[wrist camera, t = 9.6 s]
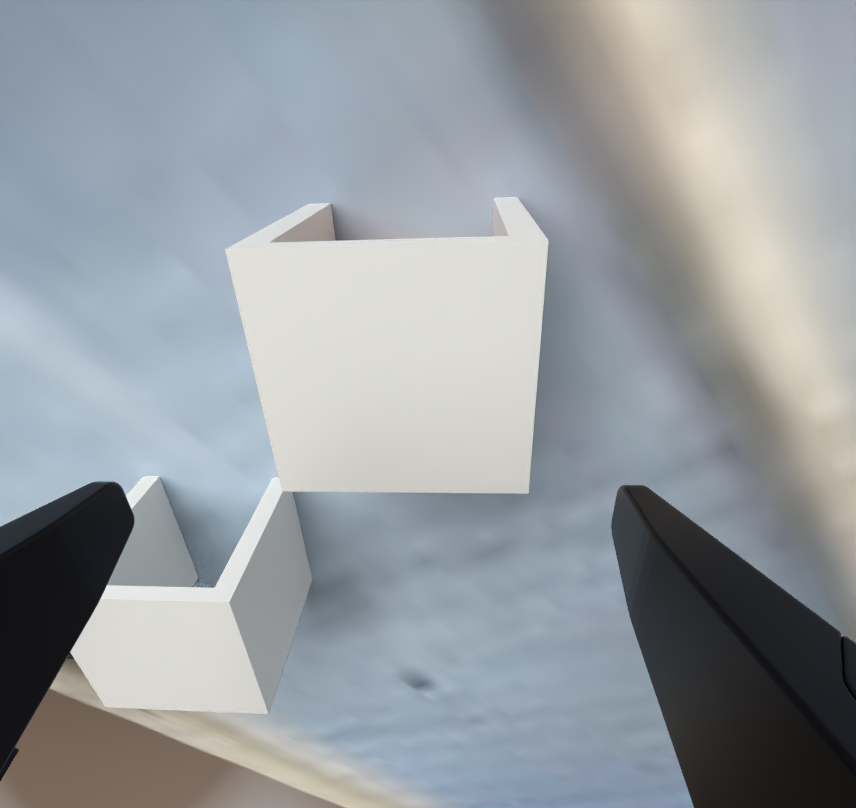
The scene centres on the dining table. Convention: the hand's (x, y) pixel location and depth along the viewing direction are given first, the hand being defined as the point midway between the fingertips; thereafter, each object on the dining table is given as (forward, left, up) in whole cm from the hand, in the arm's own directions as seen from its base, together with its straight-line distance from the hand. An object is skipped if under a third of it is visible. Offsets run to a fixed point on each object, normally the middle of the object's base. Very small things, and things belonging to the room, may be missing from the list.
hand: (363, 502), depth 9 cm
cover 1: (-12, +10, -11) cm, 19 cm away
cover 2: (0, 0, -11) cm, 11 cm away
